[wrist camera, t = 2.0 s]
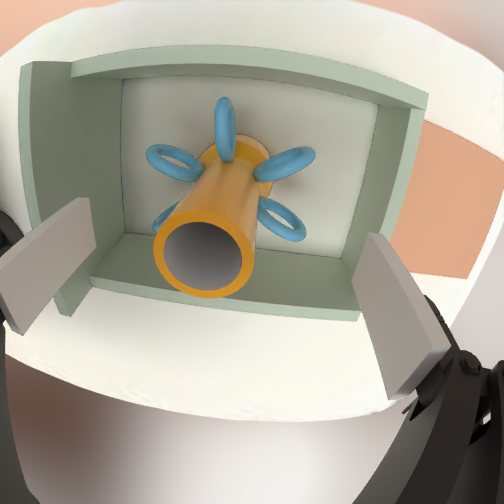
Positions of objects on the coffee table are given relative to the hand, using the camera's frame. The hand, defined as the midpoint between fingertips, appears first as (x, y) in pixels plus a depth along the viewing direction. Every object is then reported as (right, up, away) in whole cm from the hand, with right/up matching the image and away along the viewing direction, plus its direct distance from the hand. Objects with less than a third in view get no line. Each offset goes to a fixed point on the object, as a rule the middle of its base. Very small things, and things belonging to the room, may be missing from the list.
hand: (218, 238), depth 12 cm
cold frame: (0, +7, +11) cm, 13 cm away
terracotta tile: (+23, +4, +12) cm, 26 cm away
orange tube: (0, +7, +12) cm, 14 cm away
